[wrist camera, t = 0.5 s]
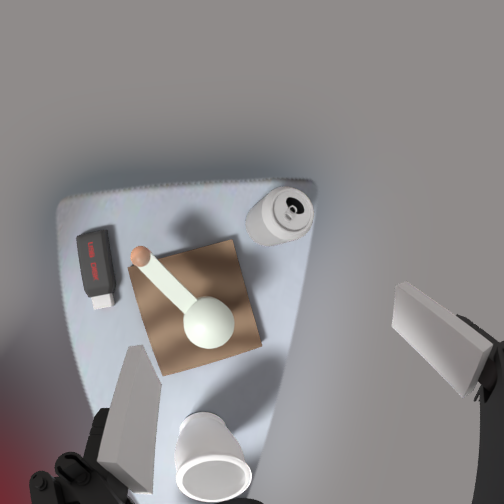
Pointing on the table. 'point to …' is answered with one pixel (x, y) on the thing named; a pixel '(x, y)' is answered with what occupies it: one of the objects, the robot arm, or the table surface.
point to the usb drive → (97, 268)
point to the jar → (209, 460)
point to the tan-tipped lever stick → (188, 303)
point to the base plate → (199, 284)
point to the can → (280, 217)
